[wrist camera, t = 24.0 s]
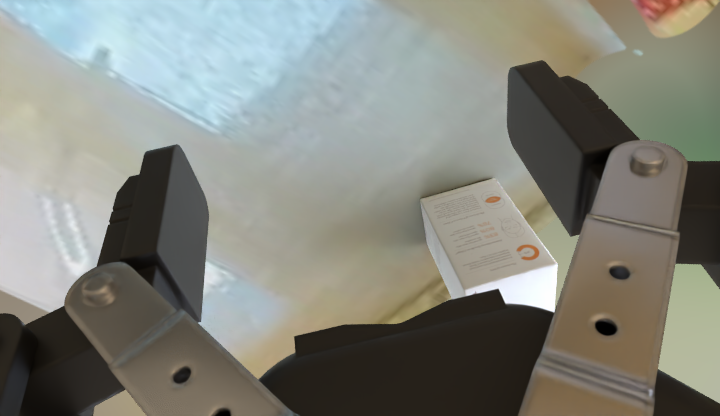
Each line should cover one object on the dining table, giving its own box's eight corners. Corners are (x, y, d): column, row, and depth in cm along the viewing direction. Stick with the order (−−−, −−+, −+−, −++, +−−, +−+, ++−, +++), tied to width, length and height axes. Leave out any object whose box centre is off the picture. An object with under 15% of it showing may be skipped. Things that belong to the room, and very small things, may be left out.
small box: (426, 244, 58) (468, 338, 47) (418, 197, 54) (462, 290, 43) (498, 223, 58) (556, 313, 48) (496, 175, 54) (559, 262, 44)
